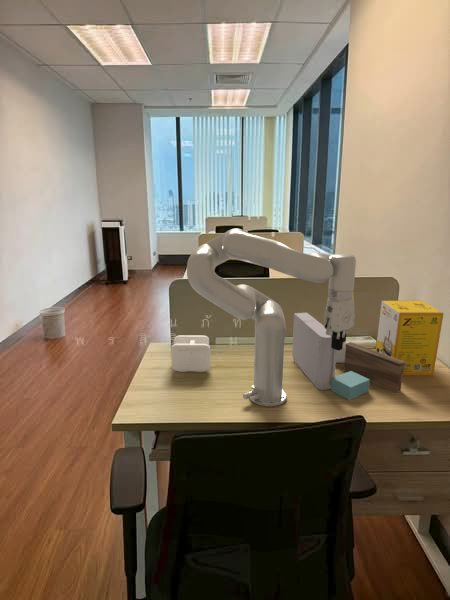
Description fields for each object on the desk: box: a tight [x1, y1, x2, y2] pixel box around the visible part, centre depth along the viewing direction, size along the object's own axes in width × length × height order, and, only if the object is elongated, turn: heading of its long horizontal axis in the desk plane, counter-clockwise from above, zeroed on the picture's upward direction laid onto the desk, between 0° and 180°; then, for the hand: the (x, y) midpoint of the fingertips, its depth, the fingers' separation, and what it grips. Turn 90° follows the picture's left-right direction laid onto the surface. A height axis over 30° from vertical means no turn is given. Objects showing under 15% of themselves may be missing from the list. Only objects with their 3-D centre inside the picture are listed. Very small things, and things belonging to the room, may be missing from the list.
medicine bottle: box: [336, 332, 347, 364], centre depth 160 cm, size 7×7×12 cm
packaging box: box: [375, 300, 444, 376], centre depth 152 cm, size 16×16×25 cm
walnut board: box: [343, 341, 405, 394], centre depth 142 cm, size 3×22×11 cm, turn 37°
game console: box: [291, 312, 337, 391], centre depth 147 cm, size 6×27×20 cm, turn 11°
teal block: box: [330, 371, 371, 401], centre depth 135 cm, size 10×8×5 cm
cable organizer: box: [170, 334, 212, 373], centre depth 152 cm, size 15×11×12 cm
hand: (336, 348), depth 125 cm, fingers closed
